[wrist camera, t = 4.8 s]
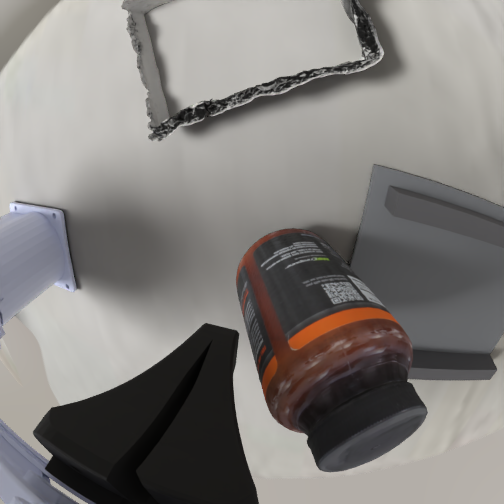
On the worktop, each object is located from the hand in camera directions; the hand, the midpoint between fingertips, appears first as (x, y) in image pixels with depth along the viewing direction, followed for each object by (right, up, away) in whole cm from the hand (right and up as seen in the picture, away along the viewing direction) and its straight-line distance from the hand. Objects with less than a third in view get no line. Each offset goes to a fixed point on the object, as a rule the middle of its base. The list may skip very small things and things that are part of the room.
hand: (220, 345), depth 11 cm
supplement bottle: (+3, +3, +6) cm, 7 cm away
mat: (+15, +1, +5) cm, 16 cm away
